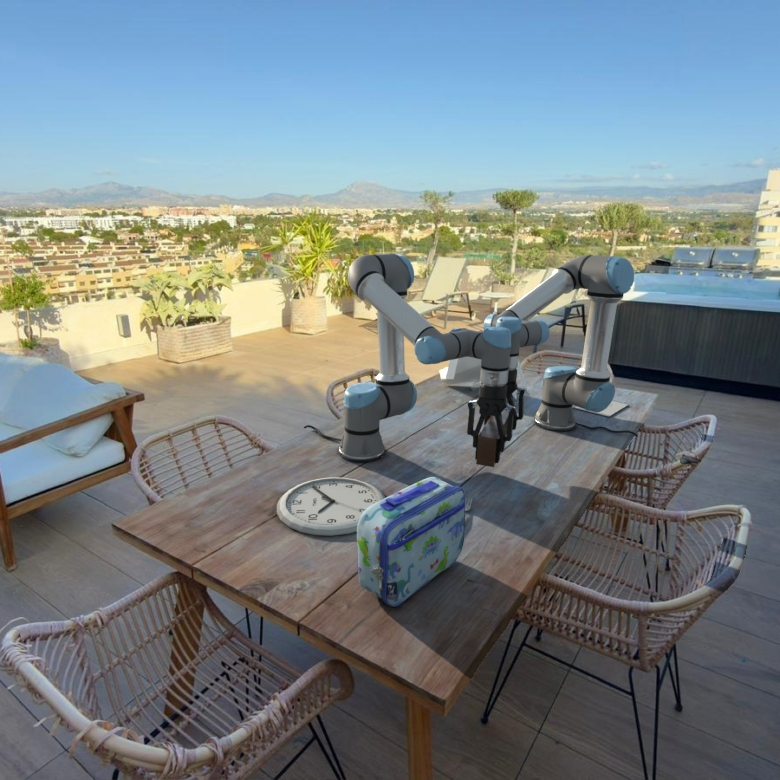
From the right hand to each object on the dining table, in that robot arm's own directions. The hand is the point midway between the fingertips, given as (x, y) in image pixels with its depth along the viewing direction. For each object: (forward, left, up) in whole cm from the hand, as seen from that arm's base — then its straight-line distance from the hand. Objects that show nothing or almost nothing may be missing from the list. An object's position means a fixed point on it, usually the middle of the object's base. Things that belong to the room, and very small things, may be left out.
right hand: (499, 436), depth 169 cm
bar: (+2, +9, -1) cm, 9 cm away
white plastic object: (+2, -76, -9) cm, 76 cm away
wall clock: (+47, +35, -9) cm, 59 cm away
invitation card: (-49, -64, -9) cm, 81 cm away
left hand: (+5, +18, 0) cm, 18 cm away
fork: (+12, +36, -9) cm, 39 cm away
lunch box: (+23, +63, -9) cm, 68 cm away
